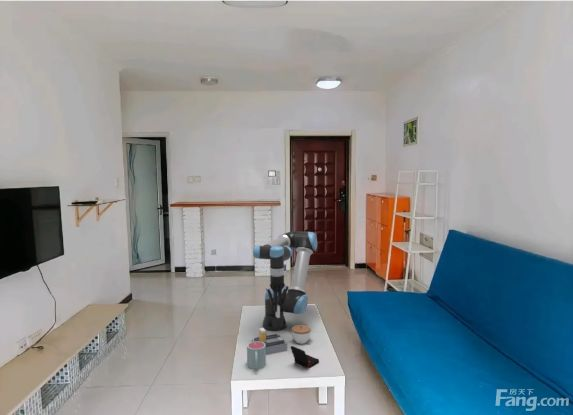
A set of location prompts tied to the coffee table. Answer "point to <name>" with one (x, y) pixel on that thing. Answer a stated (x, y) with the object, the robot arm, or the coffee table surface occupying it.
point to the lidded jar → (301, 333)
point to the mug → (256, 355)
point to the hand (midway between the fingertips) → (277, 316)
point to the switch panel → (274, 344)
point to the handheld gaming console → (303, 358)
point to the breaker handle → (262, 335)
